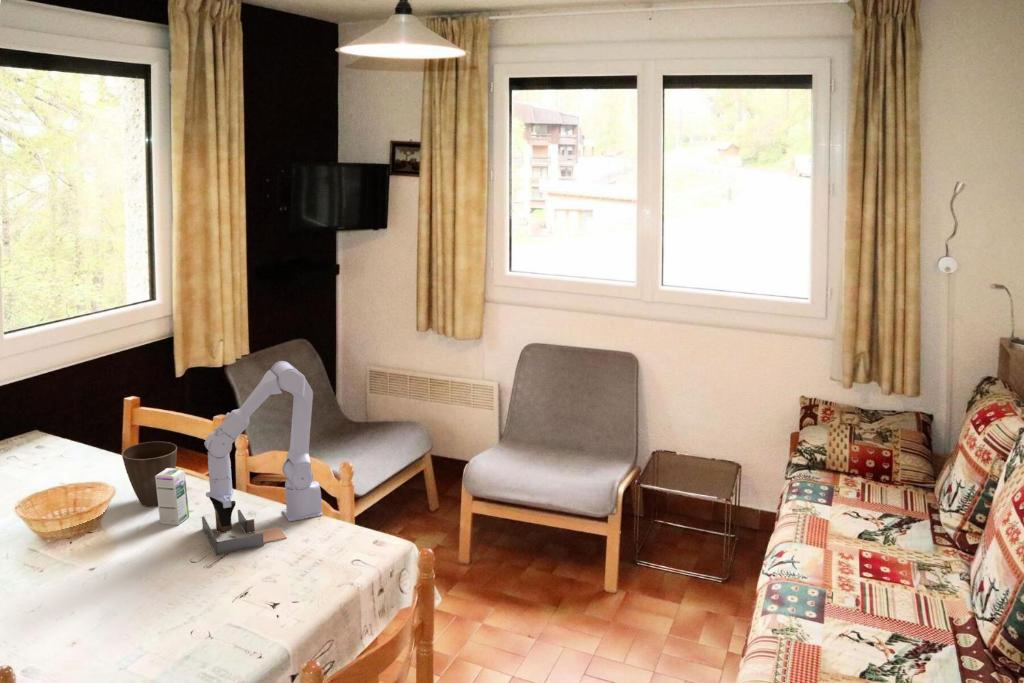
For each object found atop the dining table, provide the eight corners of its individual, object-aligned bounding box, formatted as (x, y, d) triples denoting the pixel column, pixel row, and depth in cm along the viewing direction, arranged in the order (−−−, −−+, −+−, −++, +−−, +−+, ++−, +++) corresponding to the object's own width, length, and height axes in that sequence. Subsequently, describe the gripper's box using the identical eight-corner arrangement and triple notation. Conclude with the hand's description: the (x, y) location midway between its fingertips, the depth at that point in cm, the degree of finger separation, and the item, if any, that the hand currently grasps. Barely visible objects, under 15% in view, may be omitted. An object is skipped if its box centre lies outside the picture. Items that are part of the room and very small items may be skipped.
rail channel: (247, 519, 262) (246, 508, 261) (263, 546, 247) (263, 533, 246) (202, 528, 257) (201, 516, 256) (216, 555, 241) (215, 543, 240)
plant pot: (118, 500, 274) (113, 449, 270) (168, 487, 284) (164, 437, 280) (138, 517, 264) (133, 463, 260) (190, 502, 273) (185, 450, 269)
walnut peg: (230, 524, 259) (228, 501, 257) (233, 530, 256) (231, 506, 254) (215, 527, 257) (213, 504, 255) (218, 533, 254) (216, 509, 252)
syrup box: (178, 525, 258) (174, 476, 255) (159, 523, 259) (154, 474, 256) (189, 517, 264) (185, 468, 260) (170, 515, 265) (166, 467, 261)
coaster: (279, 528, 257) (279, 527, 257) (286, 538, 251) (286, 537, 251) (253, 533, 254) (253, 532, 254) (260, 544, 248) (260, 542, 248)
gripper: (199, 469, 257) (203, 515, 260) (210, 488, 245) (214, 536, 248) (226, 465, 260) (229, 510, 264) (237, 483, 248) (241, 530, 251)
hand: (223, 522), depth 256 cm, fingers closed on walnut peg, 4 cm apart
